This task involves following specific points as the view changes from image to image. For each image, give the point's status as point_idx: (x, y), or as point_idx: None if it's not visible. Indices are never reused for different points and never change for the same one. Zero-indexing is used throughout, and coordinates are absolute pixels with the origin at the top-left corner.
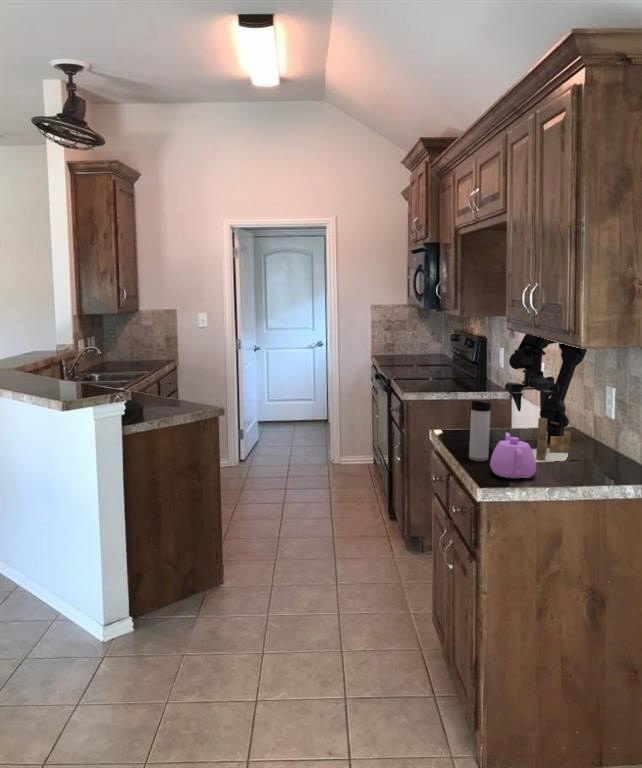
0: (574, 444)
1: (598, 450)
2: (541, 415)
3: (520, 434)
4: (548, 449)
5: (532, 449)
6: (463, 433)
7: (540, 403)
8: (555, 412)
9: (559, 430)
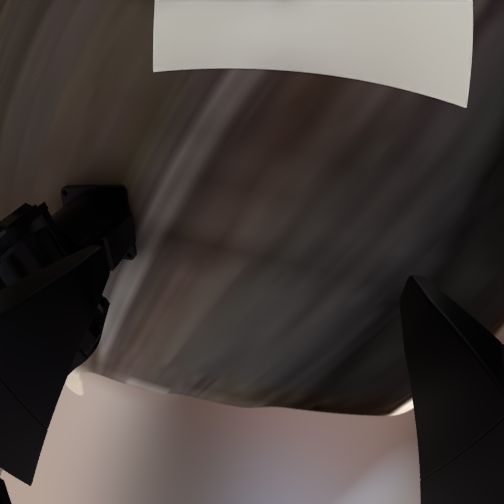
0: (46, 151)
1: (18, 43)
2: (98, 317)
3: (180, 343)
4: (219, 41)
5: (314, 60)
6: (369, 387)
7: (78, 339)
8: (12, 254)
9: (56, 215)
